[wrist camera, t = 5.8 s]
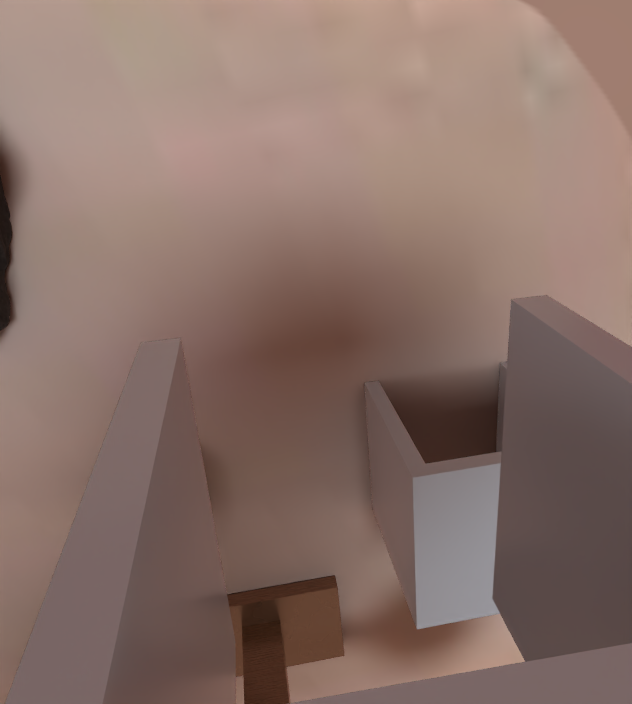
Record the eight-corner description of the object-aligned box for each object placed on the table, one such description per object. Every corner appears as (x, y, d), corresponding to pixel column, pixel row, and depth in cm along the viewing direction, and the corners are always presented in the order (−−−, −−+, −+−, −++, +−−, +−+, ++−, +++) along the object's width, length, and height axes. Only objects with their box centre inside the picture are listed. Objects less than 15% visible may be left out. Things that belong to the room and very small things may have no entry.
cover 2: (372, 508, 36) (417, 629, 27) (364, 382, 32) (412, 477, 24) (506, 485, 36) (589, 596, 28) (513, 360, 33) (609, 445, 25)
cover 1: (204, 645, 15) (173, 1279, 7) (141, 342, 12) (-66, 889, 4) (520, 593, 16) (823, 1108, 8) (546, 295, 13) (1136, 655, 4)
